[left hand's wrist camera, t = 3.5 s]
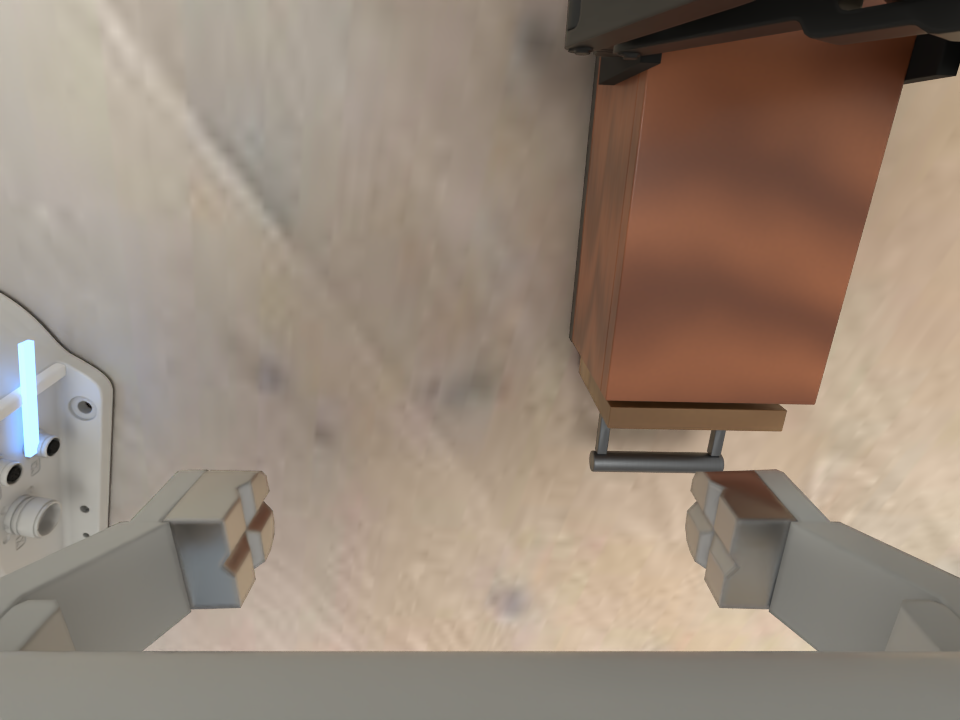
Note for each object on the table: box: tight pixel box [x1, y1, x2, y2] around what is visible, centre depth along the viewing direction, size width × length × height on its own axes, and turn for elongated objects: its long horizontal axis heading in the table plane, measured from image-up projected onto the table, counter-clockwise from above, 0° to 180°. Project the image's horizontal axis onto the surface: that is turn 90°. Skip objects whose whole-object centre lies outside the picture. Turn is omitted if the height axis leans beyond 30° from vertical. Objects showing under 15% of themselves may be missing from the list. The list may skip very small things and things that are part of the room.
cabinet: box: [569, 0, 917, 405], centre depth 27 cm, size 20×10×10 cm, turn 178°
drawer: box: [579, 357, 787, 473], centre depth 29 cm, size 23×9×8 cm, turn 178°
